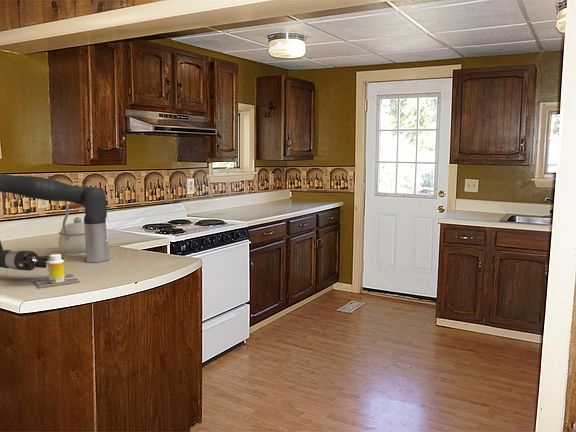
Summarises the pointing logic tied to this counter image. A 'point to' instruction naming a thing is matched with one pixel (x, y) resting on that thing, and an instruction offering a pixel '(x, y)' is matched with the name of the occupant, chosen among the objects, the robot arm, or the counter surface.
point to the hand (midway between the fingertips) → (54, 262)
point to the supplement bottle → (56, 269)
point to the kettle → (73, 234)
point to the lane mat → (45, 283)
